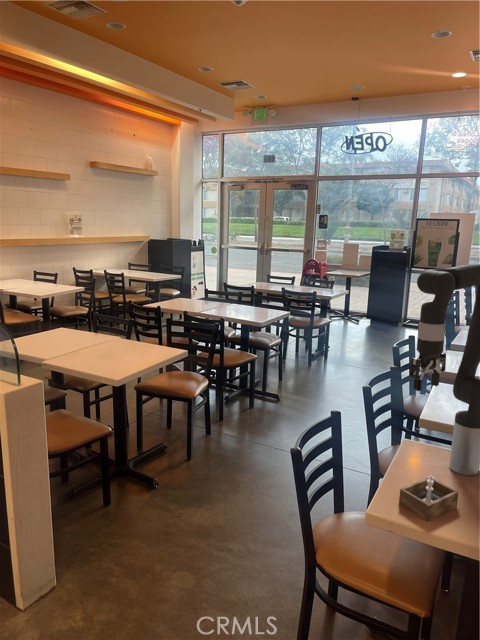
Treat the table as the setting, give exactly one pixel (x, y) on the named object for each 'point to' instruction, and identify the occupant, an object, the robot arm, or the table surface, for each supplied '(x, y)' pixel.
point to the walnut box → (440, 496)
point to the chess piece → (429, 490)
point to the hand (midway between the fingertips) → (426, 387)
